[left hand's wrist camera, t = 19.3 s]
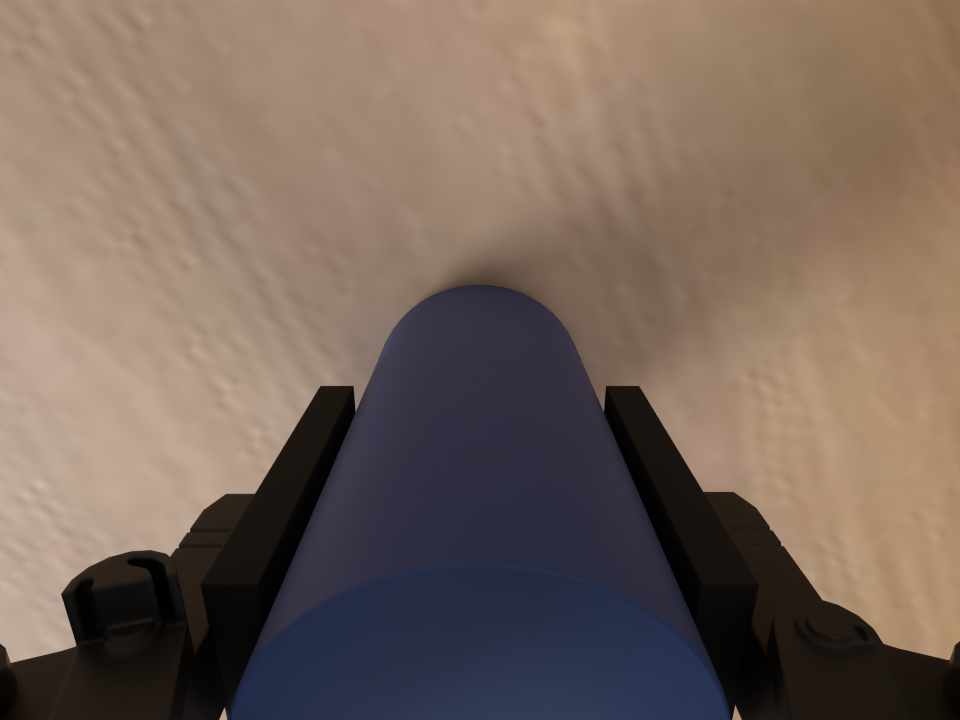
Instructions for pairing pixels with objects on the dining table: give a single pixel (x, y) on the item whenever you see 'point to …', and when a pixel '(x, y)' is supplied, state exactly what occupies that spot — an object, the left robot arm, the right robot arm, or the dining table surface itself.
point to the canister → (479, 546)
